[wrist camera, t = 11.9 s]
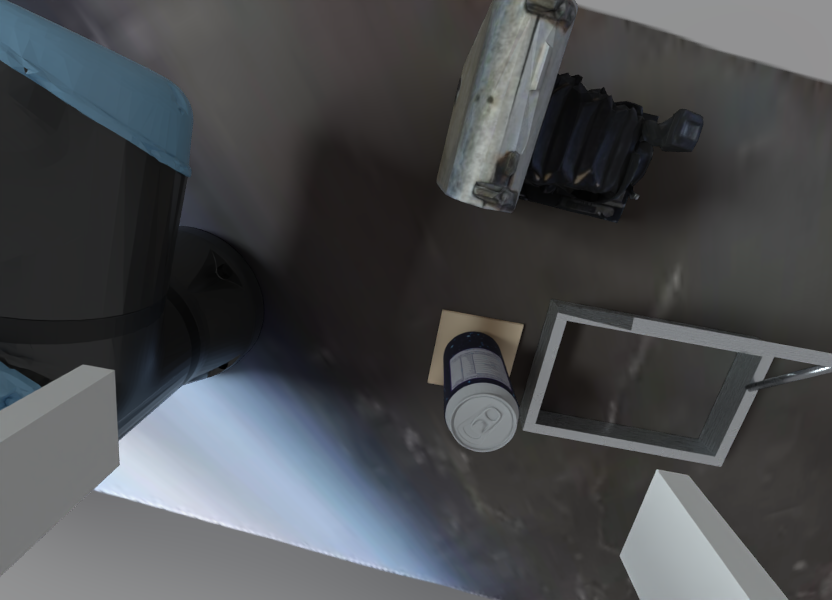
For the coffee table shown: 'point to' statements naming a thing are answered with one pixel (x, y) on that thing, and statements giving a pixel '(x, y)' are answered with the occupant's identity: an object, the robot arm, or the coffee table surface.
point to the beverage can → (478, 393)
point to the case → (743, 371)
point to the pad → (460, 322)
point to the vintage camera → (546, 122)
